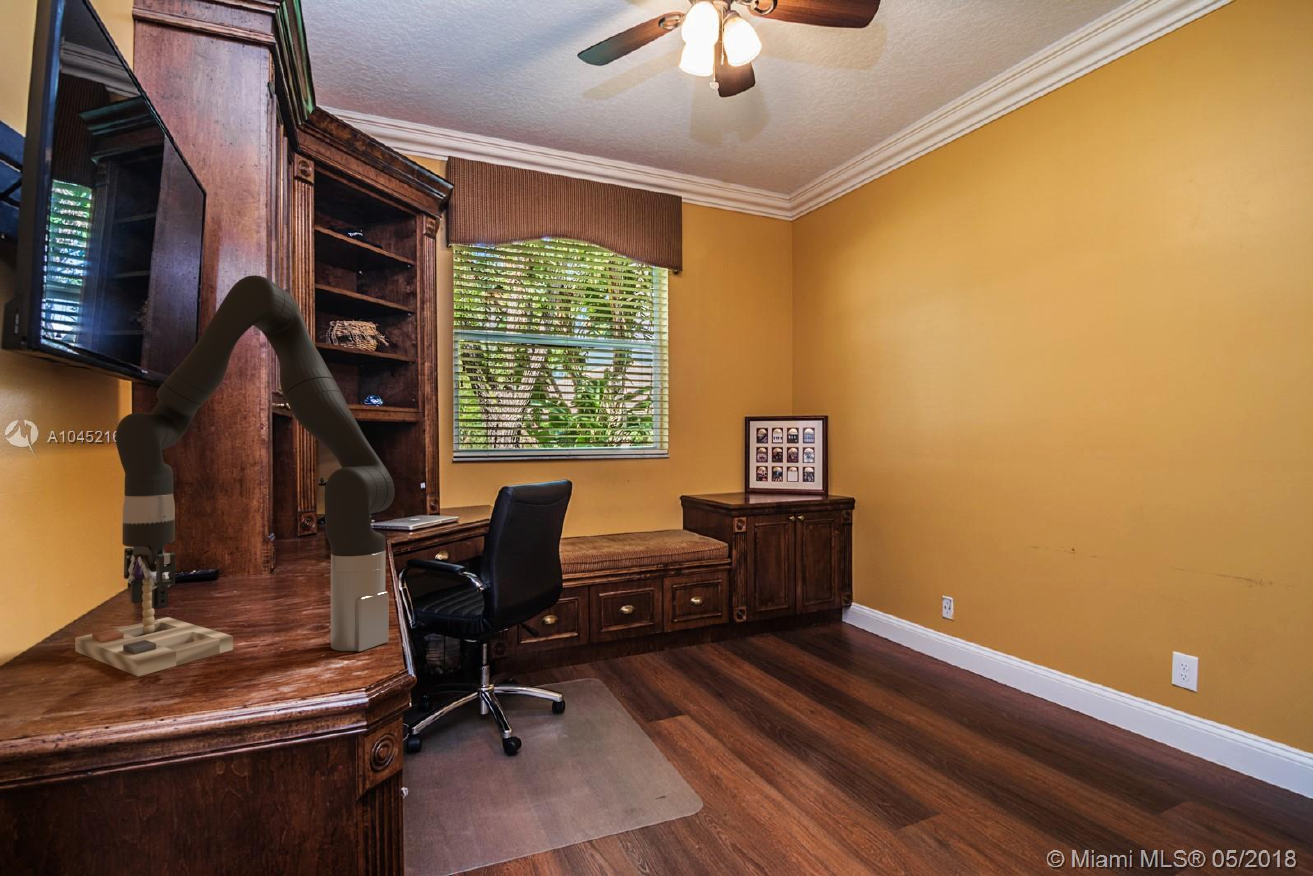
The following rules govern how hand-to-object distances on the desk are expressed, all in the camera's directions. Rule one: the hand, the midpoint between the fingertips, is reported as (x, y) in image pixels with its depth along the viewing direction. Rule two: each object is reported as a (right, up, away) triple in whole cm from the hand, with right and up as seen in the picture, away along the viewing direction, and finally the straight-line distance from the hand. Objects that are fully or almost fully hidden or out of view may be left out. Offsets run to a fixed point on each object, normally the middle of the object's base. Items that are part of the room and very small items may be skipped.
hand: (148, 605), depth 112 cm
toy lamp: (0, -7, 0) cm, 7 cm away
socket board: (+5, -7, -4) cm, 9 cm away
